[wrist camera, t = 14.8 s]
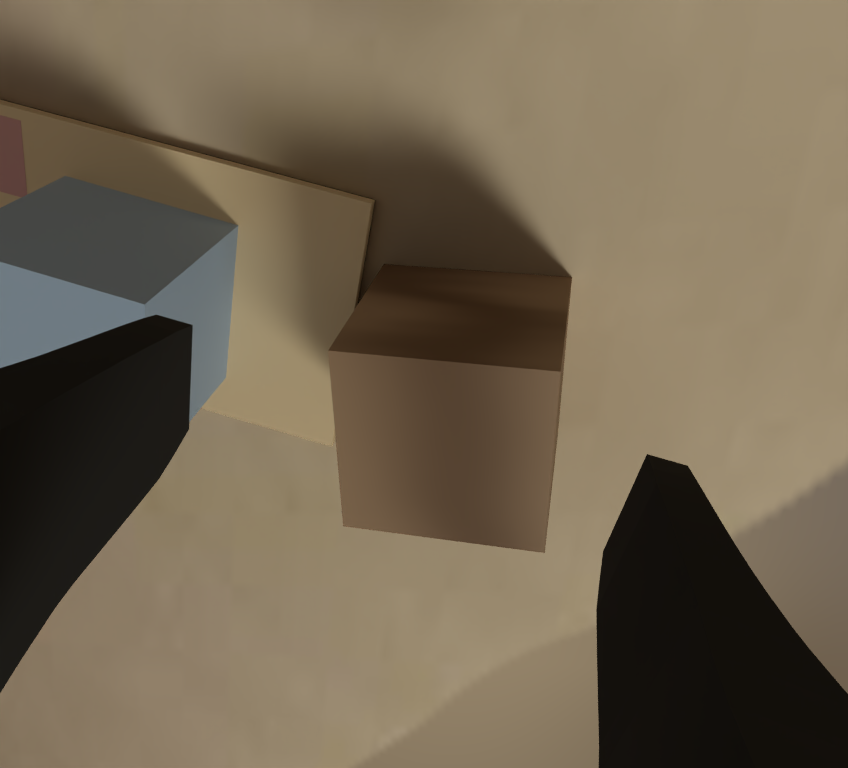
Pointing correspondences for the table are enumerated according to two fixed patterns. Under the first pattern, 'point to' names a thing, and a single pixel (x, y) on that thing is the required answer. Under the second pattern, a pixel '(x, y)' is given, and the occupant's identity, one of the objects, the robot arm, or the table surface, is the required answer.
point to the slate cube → (113, 273)
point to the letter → (255, 255)
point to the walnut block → (451, 404)
